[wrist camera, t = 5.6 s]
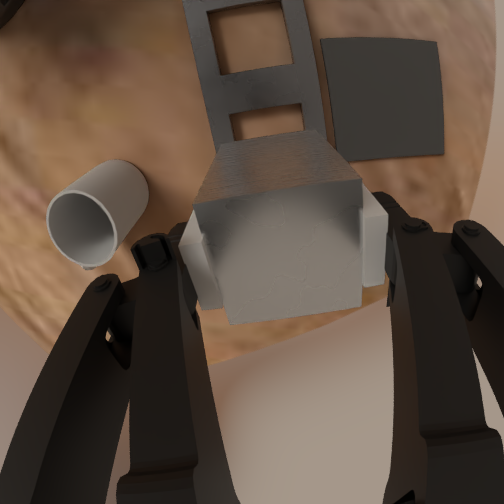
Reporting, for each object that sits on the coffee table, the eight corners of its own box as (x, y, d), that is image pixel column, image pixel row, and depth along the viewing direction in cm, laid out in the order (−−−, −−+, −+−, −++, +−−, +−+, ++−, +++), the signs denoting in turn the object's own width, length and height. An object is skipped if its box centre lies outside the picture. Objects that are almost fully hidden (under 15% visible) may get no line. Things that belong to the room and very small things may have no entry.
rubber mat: (319, 39, 22) (320, 38, 22) (434, 42, 21) (436, 41, 20) (337, 161, 28) (338, 162, 28) (442, 153, 27) (444, 154, 26)
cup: (157, 168, 29) (123, 204, 21) (139, 249, 34) (111, 299, 26) (95, 150, 28) (47, 179, 20) (85, 230, 33) (47, 274, 25)
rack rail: (185, 2, 20) (181, -1, 19) (296, -17, 19) (297, -21, 18) (248, 277, 36) (247, 284, 35) (334, 265, 35) (336, 271, 34)
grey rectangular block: (221, 144, 16) (192, 204, 9) (315, 129, 15) (362, 178, 8) (240, 226, 18) (230, 324, 12) (324, 213, 18) (361, 306, 11)
